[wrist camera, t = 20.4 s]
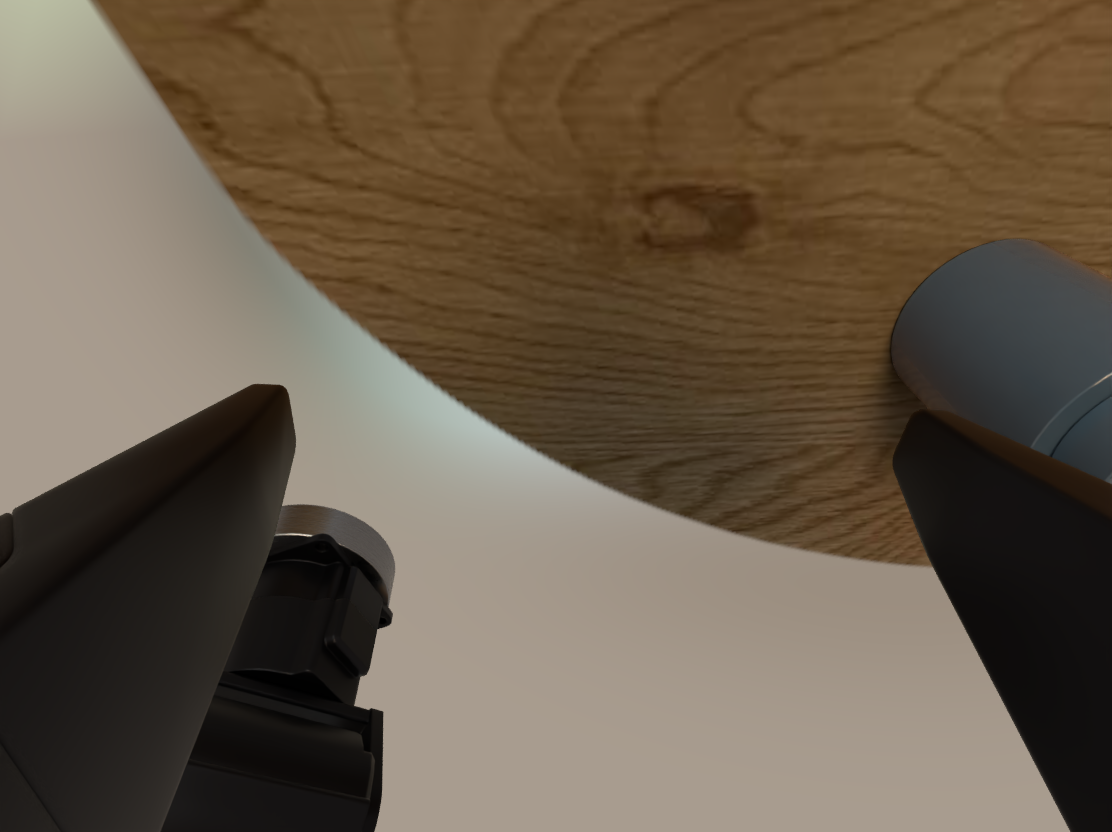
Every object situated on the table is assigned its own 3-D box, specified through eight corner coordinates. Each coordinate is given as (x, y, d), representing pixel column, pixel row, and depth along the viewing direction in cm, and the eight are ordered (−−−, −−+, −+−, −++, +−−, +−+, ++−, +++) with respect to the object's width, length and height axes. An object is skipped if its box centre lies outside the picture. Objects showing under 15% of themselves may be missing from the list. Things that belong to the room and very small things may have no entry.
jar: (895, 418, 24) (1051, 603, 17) (884, 276, 21) (1072, 434, 14) (1065, 366, 24) (1303, 539, 16) (1082, 210, 20) (1387, 342, 13)
